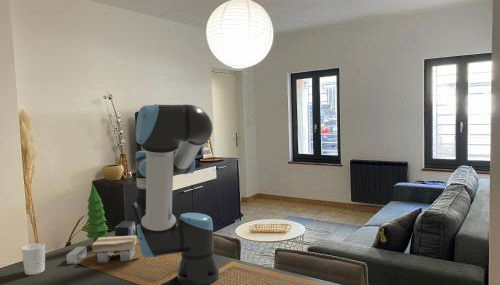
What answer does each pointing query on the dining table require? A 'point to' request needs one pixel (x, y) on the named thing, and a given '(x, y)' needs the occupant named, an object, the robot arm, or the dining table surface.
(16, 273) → the dining table surface
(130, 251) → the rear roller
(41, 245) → the white cup
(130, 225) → the small box
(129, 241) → the oak slab
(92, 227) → the decorative tree
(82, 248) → the grey marble block
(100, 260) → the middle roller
